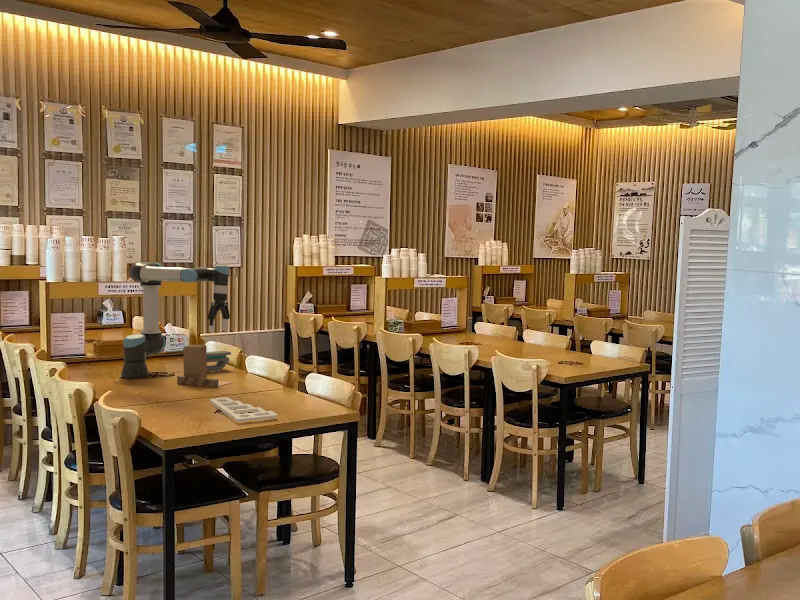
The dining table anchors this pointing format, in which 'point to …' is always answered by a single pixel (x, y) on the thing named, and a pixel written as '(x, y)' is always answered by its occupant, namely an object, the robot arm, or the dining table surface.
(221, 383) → the terracotta end mark
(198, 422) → the dining table surface
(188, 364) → the wooden block
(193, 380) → the walnut straightedge
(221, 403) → the holder
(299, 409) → the dining table surface
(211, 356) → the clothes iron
